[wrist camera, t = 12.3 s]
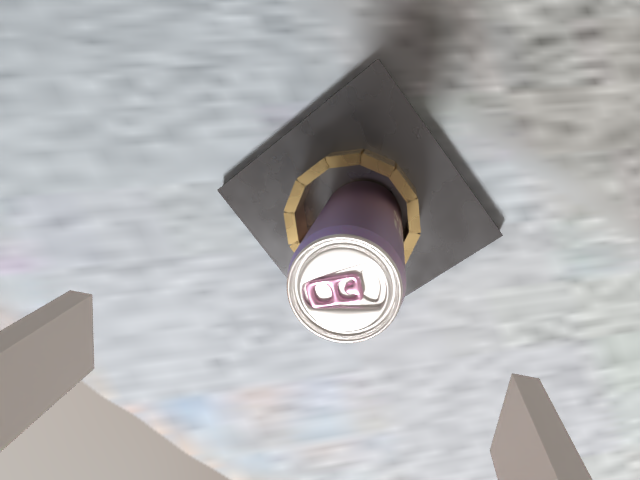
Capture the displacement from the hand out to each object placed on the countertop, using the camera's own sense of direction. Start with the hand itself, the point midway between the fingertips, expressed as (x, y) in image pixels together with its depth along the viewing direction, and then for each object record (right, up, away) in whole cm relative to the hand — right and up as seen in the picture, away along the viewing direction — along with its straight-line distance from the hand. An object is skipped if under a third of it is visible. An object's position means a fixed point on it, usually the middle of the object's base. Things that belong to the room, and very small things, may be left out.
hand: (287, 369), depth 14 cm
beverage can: (+4, +6, +22) cm, 23 cm away
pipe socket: (+4, +7, +23) cm, 24 cm away
